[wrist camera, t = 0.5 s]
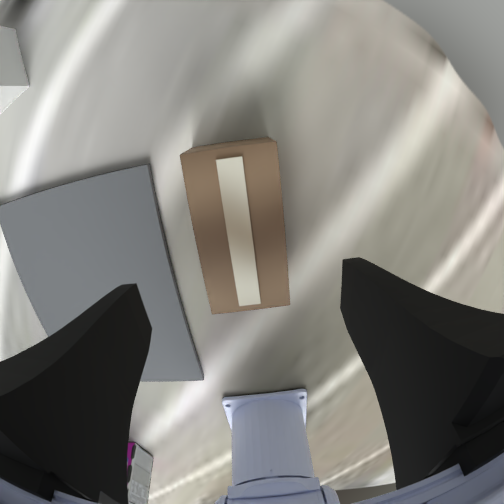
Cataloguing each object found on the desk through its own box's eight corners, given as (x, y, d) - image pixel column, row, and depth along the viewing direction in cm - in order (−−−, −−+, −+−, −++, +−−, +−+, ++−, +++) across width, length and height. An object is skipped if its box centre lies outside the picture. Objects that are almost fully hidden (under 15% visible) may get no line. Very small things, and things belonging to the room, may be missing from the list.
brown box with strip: (281, 271, 20) (290, 307, 17) (216, 279, 21) (211, 316, 17) (268, 136, 17) (277, 141, 13) (192, 147, 17) (178, 155, 13)
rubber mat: (203, 376, 24) (203, 380, 24) (74, 374, 24) (72, 377, 24) (149, 163, 17) (147, 164, 16) (-1, 205, 17) (-5, 207, 16)
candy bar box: (100, 456, 33) (81, 540, 19) (79, 440, 31) (55, 529, 16) (157, 457, 32) (144, 557, 17) (136, 441, 30) (117, 550, 15)
